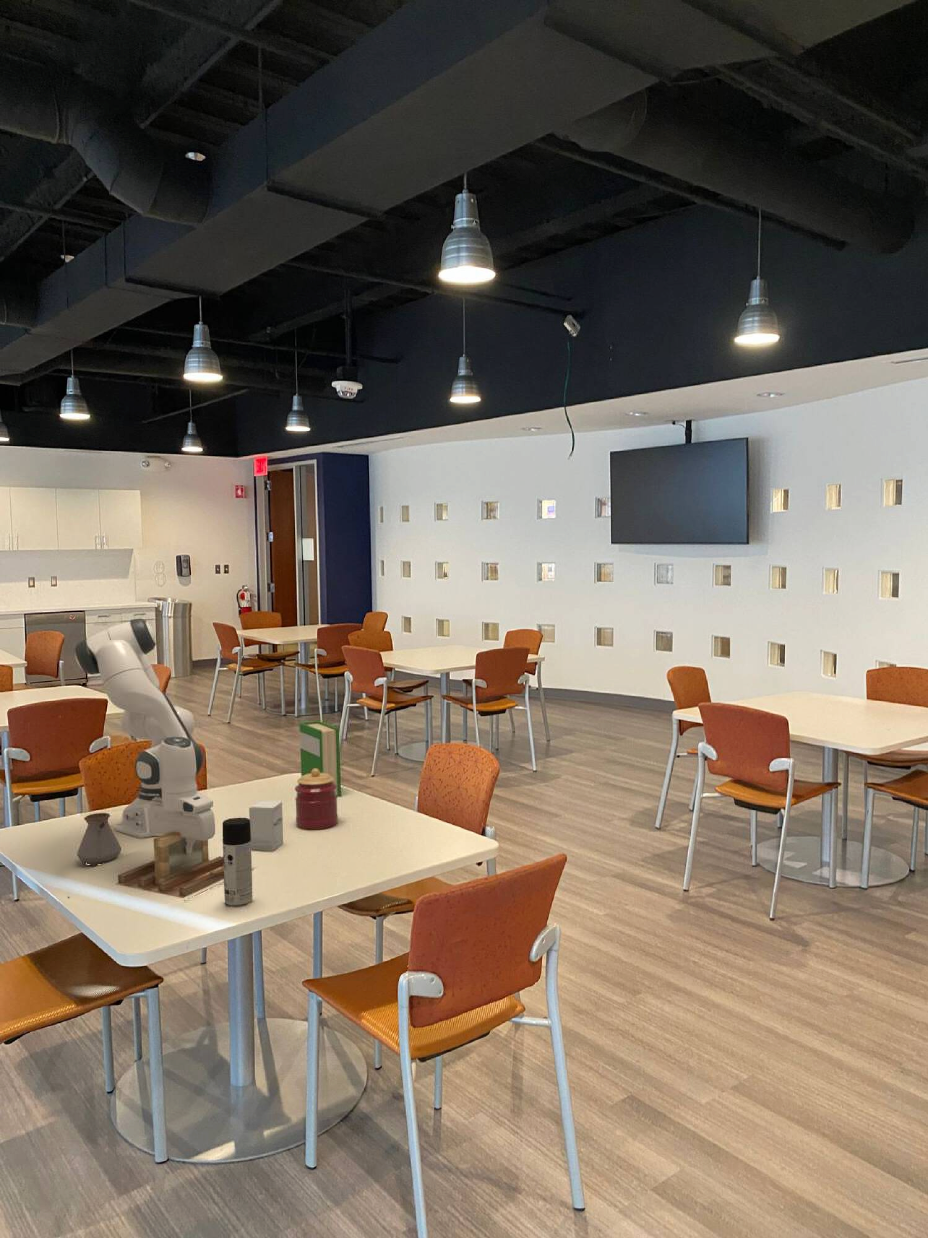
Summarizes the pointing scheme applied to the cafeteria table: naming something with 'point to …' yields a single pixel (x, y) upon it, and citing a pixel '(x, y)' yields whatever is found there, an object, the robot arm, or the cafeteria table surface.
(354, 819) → the cafeteria table surface
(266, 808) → the supplement box
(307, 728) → the hardback book
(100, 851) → the coffee pot
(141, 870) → the slotted rack
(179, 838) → the wooden picture frame
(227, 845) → the spray can
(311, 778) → the canister
